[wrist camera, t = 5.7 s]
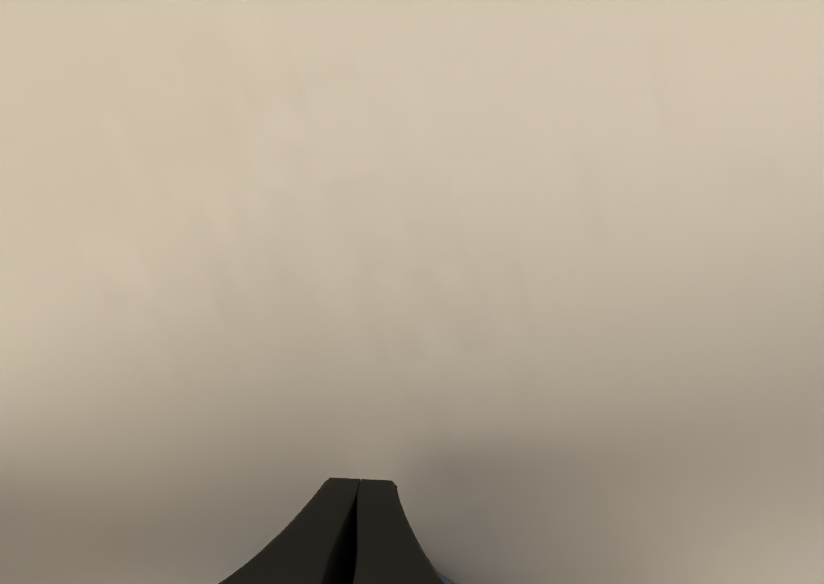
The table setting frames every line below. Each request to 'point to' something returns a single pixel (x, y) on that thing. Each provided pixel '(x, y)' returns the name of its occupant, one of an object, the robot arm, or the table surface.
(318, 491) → the robot arm
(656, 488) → the table surface
